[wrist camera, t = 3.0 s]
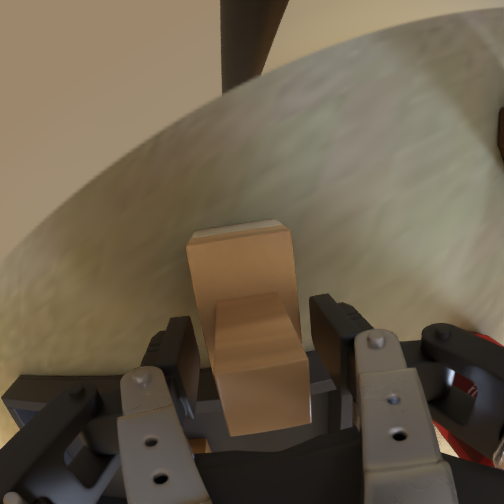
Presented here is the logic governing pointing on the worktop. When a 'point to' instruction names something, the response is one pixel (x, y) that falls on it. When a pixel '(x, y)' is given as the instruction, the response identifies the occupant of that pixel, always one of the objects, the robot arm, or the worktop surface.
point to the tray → (206, 415)
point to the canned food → (457, 444)
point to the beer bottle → (501, 132)
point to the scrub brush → (252, 324)
